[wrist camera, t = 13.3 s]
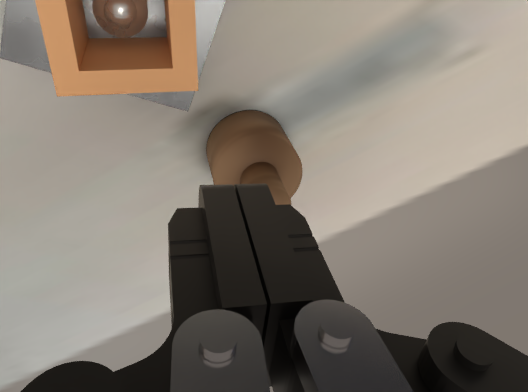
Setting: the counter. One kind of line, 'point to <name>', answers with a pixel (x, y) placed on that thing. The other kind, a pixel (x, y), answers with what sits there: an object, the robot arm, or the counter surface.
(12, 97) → the counter surface
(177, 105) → the gray square plate
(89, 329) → the counter surface
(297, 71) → the counter surface
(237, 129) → the stand
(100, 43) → the orange square tube
